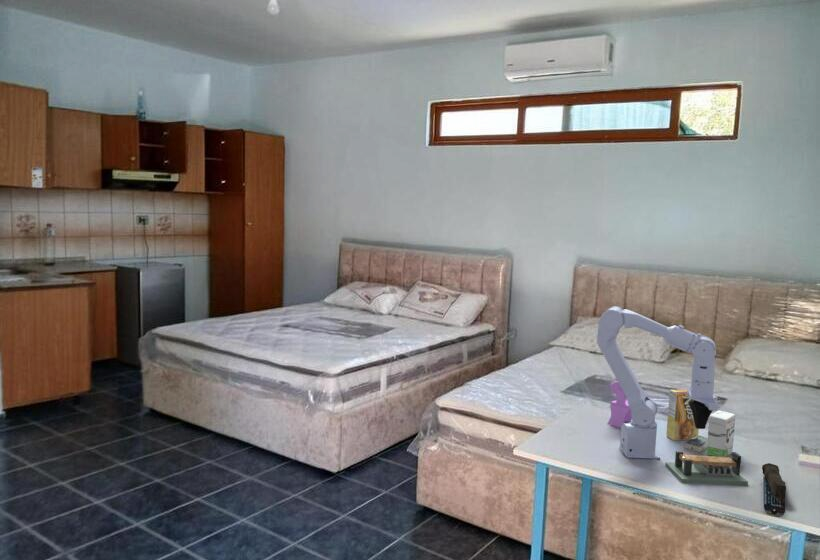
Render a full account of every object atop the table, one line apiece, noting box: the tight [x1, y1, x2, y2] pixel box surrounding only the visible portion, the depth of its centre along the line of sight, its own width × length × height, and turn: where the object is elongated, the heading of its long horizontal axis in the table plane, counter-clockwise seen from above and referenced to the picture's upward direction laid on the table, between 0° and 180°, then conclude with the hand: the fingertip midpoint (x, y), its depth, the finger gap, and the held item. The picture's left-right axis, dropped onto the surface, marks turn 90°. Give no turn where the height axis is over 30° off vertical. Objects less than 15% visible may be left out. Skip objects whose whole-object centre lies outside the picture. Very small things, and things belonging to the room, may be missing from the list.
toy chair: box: [606, 380, 632, 429], centre depth 202 cm, size 8×9×15 cm
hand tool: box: [761, 462, 787, 504], centre depth 154 cm, size 19×4×5 cm, turn 154°
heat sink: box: [674, 450, 742, 478], centre depth 162 cm, size 15×7×5 cm, turn 88°
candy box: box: [665, 388, 700, 441], centre depth 190 cm, size 9×4×15 cm, turn 103°
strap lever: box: [678, 454, 736, 467], centre depth 162 cm, size 14×4×1 cm, turn 88°
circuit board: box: [664, 461, 749, 486], centre depth 162 cm, size 17×11×1 cm, turn 88°
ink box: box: [706, 409, 736, 457], centre depth 178 cm, size 9×5×12 cm, turn 135°
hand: (700, 428), depth 169 cm, fingers closed
